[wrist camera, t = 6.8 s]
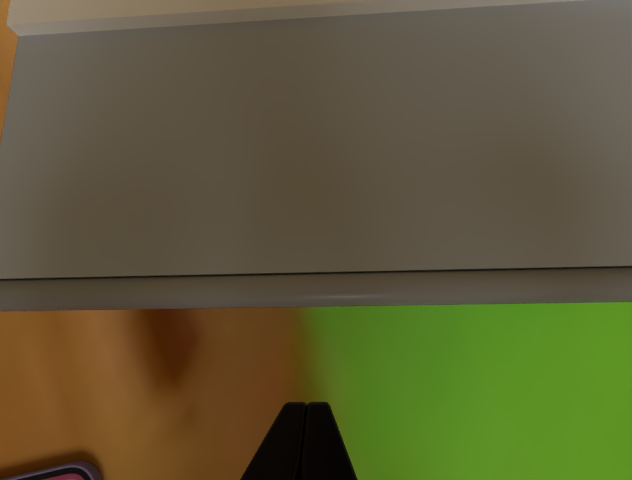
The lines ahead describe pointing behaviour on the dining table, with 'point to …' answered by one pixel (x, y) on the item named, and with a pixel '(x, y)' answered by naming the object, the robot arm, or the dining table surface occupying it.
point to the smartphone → (62, 473)
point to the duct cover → (316, 154)
